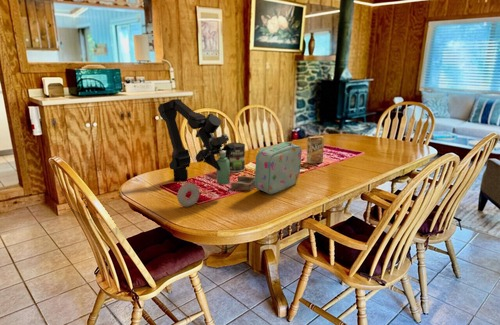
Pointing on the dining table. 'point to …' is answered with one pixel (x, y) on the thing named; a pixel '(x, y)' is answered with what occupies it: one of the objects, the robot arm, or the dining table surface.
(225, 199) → the dining table surface
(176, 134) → the robot arm
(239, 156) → the coffee can
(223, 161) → the bottle
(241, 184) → the rest
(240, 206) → the dining table surface
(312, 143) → the candy box
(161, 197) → the dining table surface
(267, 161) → the lunch box
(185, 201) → the donut
